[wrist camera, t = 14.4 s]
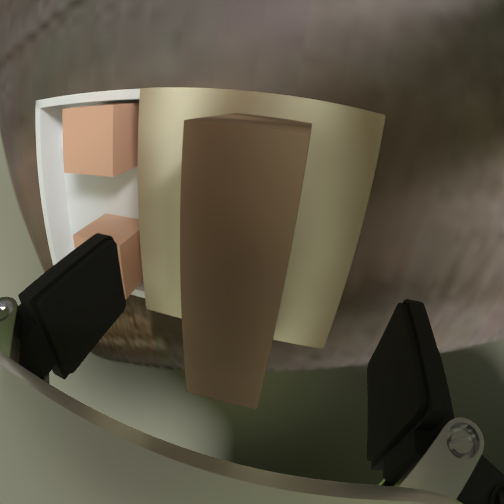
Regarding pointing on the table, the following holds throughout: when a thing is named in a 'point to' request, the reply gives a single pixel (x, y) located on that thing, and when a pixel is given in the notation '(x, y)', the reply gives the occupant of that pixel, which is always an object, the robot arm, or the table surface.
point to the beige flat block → (310, 207)
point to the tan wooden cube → (119, 245)
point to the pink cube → (100, 138)
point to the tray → (78, 177)
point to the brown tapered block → (236, 246)
